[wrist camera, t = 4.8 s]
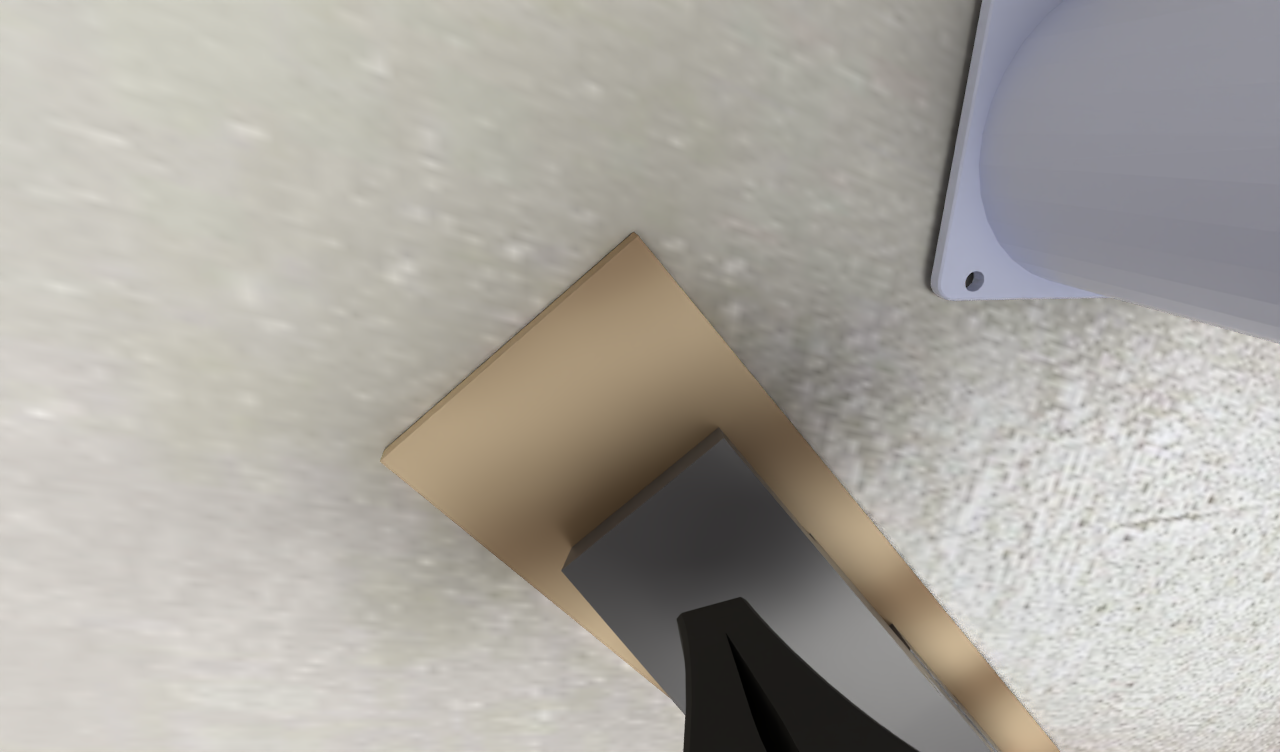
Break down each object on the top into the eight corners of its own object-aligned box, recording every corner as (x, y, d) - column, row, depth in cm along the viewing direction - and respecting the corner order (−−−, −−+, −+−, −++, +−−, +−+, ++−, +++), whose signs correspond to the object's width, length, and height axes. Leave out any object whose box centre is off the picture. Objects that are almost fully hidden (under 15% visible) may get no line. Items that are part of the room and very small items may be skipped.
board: (1059, 751, 25) (1071, 765, 24) (893, 870, 26) (901, 886, 25) (633, 231, 15) (638, 235, 14) (384, 449, 16) (379, 461, 15)
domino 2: (810, 533, 18) (988, 743, 19) (674, 640, 19) (850, 843, 19) (823, 553, 17) (1018, 782, 17) (674, 669, 17) (866, 891, 17)
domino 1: (718, 426, 17) (917, 661, 17) (571, 547, 17) (766, 774, 17) (723, 437, 15) (942, 697, 15) (561, 570, 15) (775, 820, 16)
